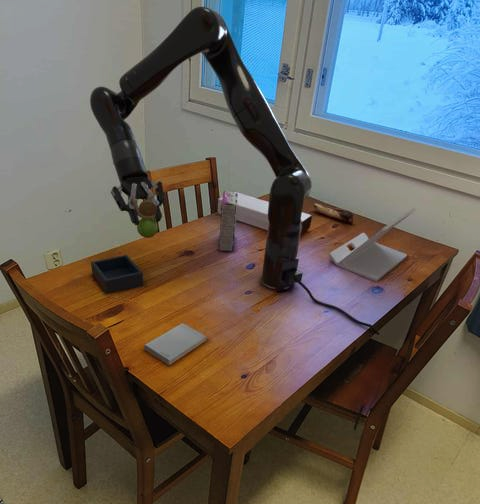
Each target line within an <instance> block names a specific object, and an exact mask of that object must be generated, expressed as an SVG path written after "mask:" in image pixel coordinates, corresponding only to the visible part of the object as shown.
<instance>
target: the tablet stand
mask: <svg viewBox="0 0 480 504" xmlns="http://www.w3.org/2000/svg"><path fill="white" fill-rule="evenodd" d="M414 212H416V208H412V209H411V210H409V211H408V212H406V213H405V214H403V215H401V216H400V217H398V218H396V219H395V220H393V221H391V222H390V223H388V224H387V225H386V226H384V227H383V228H381V229H380V230H378V231H377V232H376V233H374V234H373V235H372V236H371V237H370V238H369V237H368V236H367V234H366V233H365V232H362V233H360V234H358V235H356V236H355V237H354V238H352V239H350V240H348V241H347V242H345V243H344V244H342V245H340V246H338V247H337V248H336V249H333V250H332V251H330V252H329V253H328V257H329V258H330V259H331V261H332V262H333V264H334V265H336V266H338V267H340V268H343V269H345V270H347V271H349V272H352V273H355V274H357V275H360V276H362V277H363V278H367V279H369V280H372V281H374V282H378V281H379V280H380V279H381V278H383V277H384V276H385V275H387V274H388V273H389V272H390V271H391V270H392V269H394V268H395V267H396V266H398V264H401V263H402V262H403V261H404V260H406V258H407V256H408V254H407V253H404V252H401V251H399V250H396V249H393V248H391V247H389V246H386V245H384V244H381V243H378V242H377V240H378V239H380V238H381V237H383V236H384V235H385V234H386V233H388V232H389V231H391V229H393V228H394V227H396V226H397V225H398V224H400V223H402V221H404V220H405V219H406V218H408V217H410V216H411V215H412V214H413V213H414ZM348 246H351V247H352V248H353V250H350V248H349V247H348Z"/></svg>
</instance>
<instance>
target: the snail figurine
mask: <svg viewBox="0 0 480 504" xmlns="http://www.w3.org/2000/svg"><path fill="white" fill-rule="evenodd" d="M132 197H134V194H132ZM138 202H139V201H138V200H137V199H135V198H134V199H132V203H133V205H134V209H135V210H136V213H137V216H138V218H141V219H139V224H138V225H136V230H137V233H138V234H139V235H140V236H141V237H143V238H146V239H150V238H153V237H154V236H155V235H156V234H157V232H158V228H159V227H158V222H156V220H155V216H156V214H154V213H155V212H156V209H157V207H156V204H155V203H154V202H153V201H151V200H145V199H143V200H142V201H141V202H140V203H139V205H138Z"/></svg>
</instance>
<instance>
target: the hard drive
mask: <svg viewBox="0 0 480 504" xmlns="http://www.w3.org/2000/svg"><path fill="white" fill-rule="evenodd" d="M206 341H207V336H206V335H205V334H203V333H202V332H199V331H198V330H196V329H194V328H192V327H191V326H189V325H187V324H186V323H183V322H181V323H180V324H178V325H176V326H174V327H173V328H171V329H169V330H167V331H165V332H164V333H162V334H161V335H159V336H157V337H156V338H154V339H152V340H151V341H149V342H147V343H145V344H143V348H144V351H146V352H147V353H149V354H150V355H152V356H153V357H155V358H157V359H158V360H159V361H161V362H163V363H164V364H166V365H167V366H171V365H172V364H174V363H175V362H176V361H178V360H180V359H182V357H184V356H186V355H187V354H188V353H190V352H192V351H193V350H195V349H196V348H198V347H199V346H201V345H202V344H204V343H205V342H206Z"/></svg>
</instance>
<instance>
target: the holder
mask: <svg viewBox="0 0 480 504" xmlns="http://www.w3.org/2000/svg"><path fill="white" fill-rule="evenodd" d="M90 267H91V268H90V269H91V275H92V276H93V278H94V279H95V280H96V281H97V283H98V284H99V285H100V287H101V288H102V289H103V291H104V292H105V294H107V295H109V294H112V293H113V294H114V293H117V292H121V291H125V290H130V289H133V288H138V287H142V286H143V287H144V272H143V271H142V270H141V269H140V267H138V266H137V264H136V263H135V262H134V261H133V260H132V259H131V257H129V256H128V255H127V254H123V255H119V256H114V257H113V256H112V257H108V258H102V259H99V260H93V261H90Z"/></svg>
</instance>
